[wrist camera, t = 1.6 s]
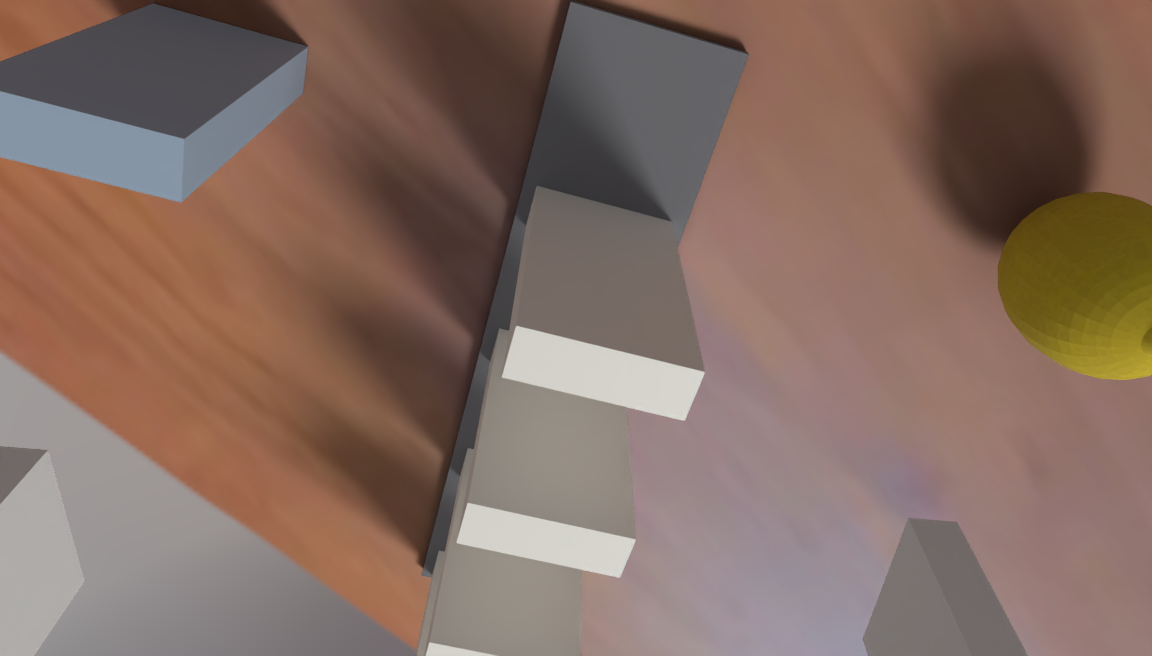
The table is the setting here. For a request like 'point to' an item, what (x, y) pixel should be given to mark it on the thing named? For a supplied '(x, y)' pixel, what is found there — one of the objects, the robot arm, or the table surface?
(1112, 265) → the lemon
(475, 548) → the tile
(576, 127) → the strip
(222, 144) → the blue-grey tile
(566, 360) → the tile
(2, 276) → the table surface
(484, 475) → the tile
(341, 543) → the table surface
